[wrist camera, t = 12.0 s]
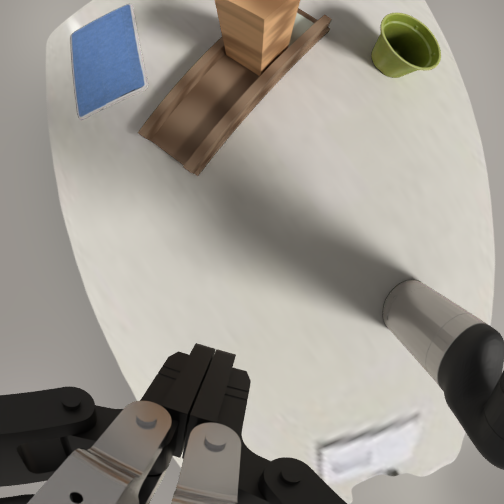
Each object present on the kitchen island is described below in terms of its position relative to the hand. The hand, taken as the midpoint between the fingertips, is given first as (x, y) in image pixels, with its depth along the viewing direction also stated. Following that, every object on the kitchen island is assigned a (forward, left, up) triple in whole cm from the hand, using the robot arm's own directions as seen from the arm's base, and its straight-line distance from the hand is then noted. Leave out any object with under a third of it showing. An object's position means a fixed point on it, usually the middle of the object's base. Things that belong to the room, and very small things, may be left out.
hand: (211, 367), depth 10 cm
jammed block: (+4, -26, -29) cm, 39 cm away
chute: (+6, -23, -30) cm, 38 cm away
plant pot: (-15, -33, -30) cm, 47 cm away
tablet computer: (+28, -24, -31) cm, 48 cm away
